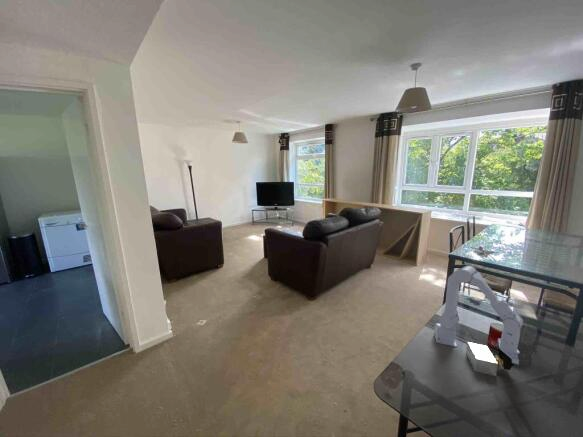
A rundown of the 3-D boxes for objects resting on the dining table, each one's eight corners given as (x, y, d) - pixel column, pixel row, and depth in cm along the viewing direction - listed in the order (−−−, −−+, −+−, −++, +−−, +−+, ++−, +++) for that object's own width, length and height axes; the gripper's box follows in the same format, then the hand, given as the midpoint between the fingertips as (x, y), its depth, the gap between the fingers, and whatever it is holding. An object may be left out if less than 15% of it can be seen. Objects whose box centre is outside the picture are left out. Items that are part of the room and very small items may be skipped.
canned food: (510, 352, 120) (514, 332, 118) (491, 349, 122) (495, 329, 120) (501, 343, 127) (505, 324, 125) (484, 339, 129) (487, 321, 127)
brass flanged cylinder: (484, 367, 109) (485, 357, 108) (479, 359, 115) (481, 349, 114) (511, 374, 106) (513, 363, 105) (505, 365, 111) (507, 354, 110)
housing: (474, 370, 108) (476, 358, 107) (465, 353, 119) (467, 341, 118) (495, 376, 105) (498, 363, 104) (485, 357, 116) (487, 345, 115)
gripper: (530, 353, 98) (524, 381, 101) (512, 332, 112) (507, 357, 114) (509, 349, 101) (503, 376, 103) (494, 329, 114) (489, 353, 117)
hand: (504, 366), depth 109 cm, fingers closed on brass flanged cylinder, 3 cm apart
